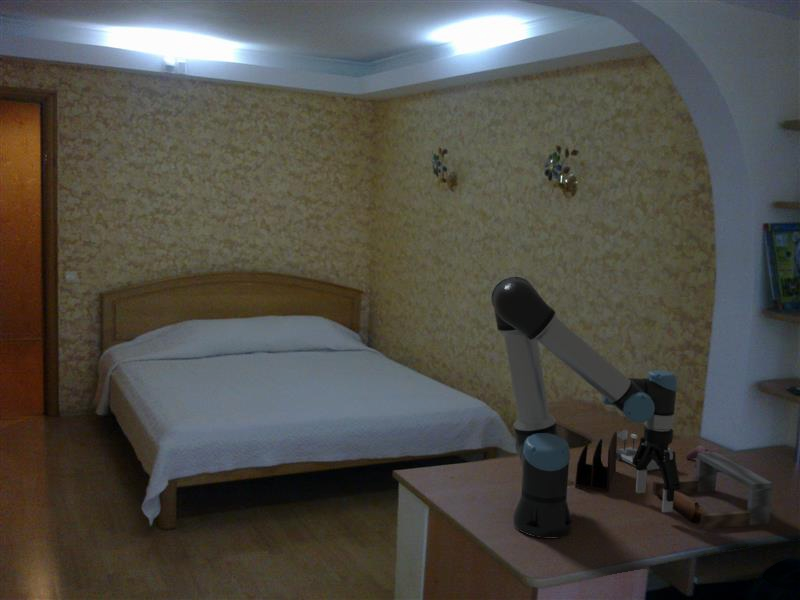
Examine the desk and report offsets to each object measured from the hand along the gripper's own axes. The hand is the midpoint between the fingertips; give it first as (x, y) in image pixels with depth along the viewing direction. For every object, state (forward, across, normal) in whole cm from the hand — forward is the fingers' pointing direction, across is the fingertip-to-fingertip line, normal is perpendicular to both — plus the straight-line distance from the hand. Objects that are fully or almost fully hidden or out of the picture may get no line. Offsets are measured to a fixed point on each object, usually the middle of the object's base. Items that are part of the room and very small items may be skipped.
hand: (653, 501), depth 216 cm
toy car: (+4, +37, -18) cm, 41 cm away
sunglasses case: (+4, 0, -11) cm, 11 cm away
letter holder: (+3, +26, +4) cm, 26 cm away
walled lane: (+3, 0, -17) cm, 18 cm away
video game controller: (+3, +33, -37) cm, 50 cm away
